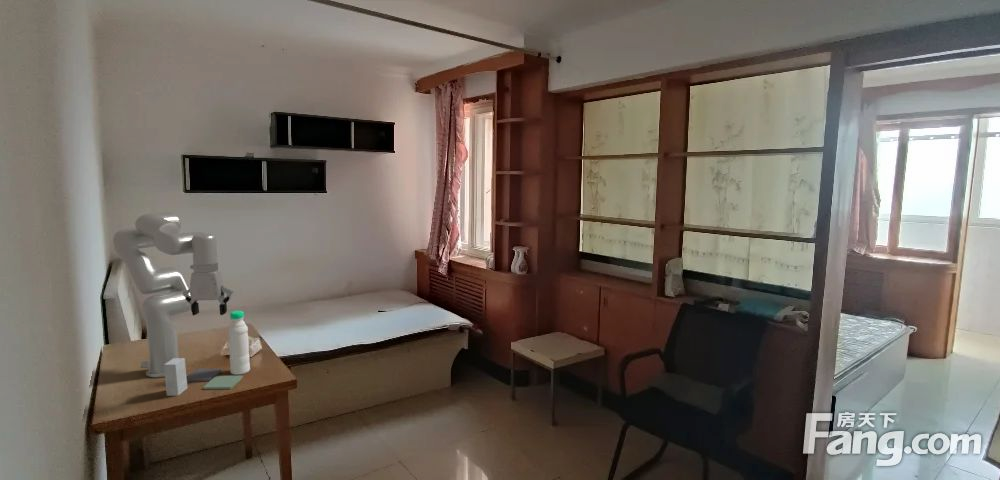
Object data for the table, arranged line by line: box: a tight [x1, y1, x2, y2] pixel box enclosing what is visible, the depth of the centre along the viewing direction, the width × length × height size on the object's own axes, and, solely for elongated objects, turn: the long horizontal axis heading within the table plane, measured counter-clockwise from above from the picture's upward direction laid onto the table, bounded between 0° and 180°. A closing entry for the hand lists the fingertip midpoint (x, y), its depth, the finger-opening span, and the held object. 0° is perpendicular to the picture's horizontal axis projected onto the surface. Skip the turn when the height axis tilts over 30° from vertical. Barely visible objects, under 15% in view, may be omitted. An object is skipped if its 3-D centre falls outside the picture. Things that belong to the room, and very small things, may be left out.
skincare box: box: [164, 357, 188, 397], centre depth 175 cm, size 6×4×12 cm
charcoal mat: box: [186, 368, 223, 383], centre depth 190 cm, size 10×10×1 cm
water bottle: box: [227, 310, 251, 376], centre depth 192 cm, size 7×7×25 cm
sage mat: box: [202, 375, 244, 390], centre depth 184 cm, size 10×10×1 cm
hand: (209, 314), depth 176 cm, fingers open, 9 cm apart
